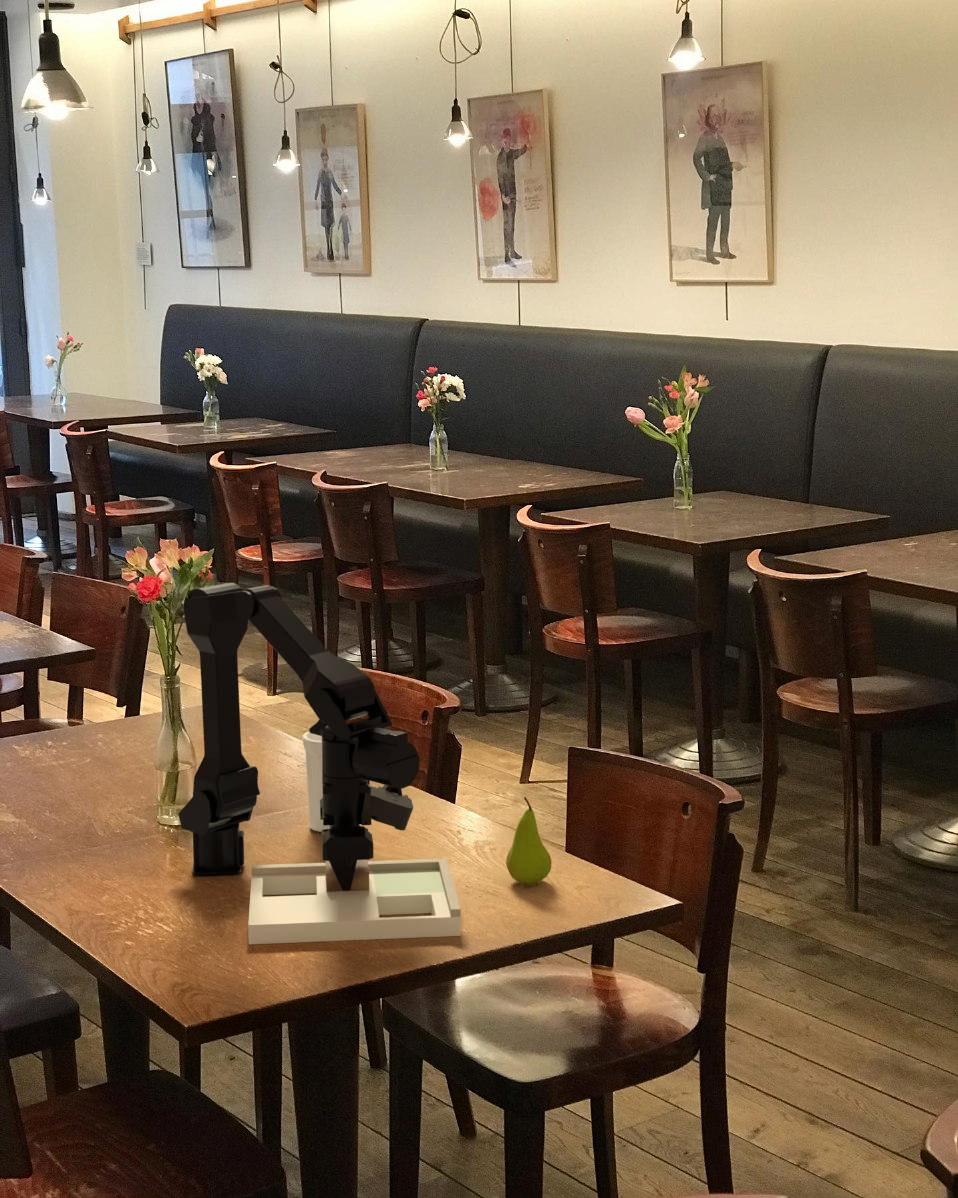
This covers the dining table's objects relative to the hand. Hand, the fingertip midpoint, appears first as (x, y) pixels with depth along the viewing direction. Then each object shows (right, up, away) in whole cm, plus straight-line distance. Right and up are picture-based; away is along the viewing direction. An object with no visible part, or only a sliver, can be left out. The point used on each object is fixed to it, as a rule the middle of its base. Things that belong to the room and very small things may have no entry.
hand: (346, 889), depth 204 cm
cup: (-5, +3, +33) cm, 33 cm away
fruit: (+24, -1, +12) cm, 26 cm away
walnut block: (0, 0, +4) cm, 4 cm away
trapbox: (+1, -3, +1) cm, 3 cm away
